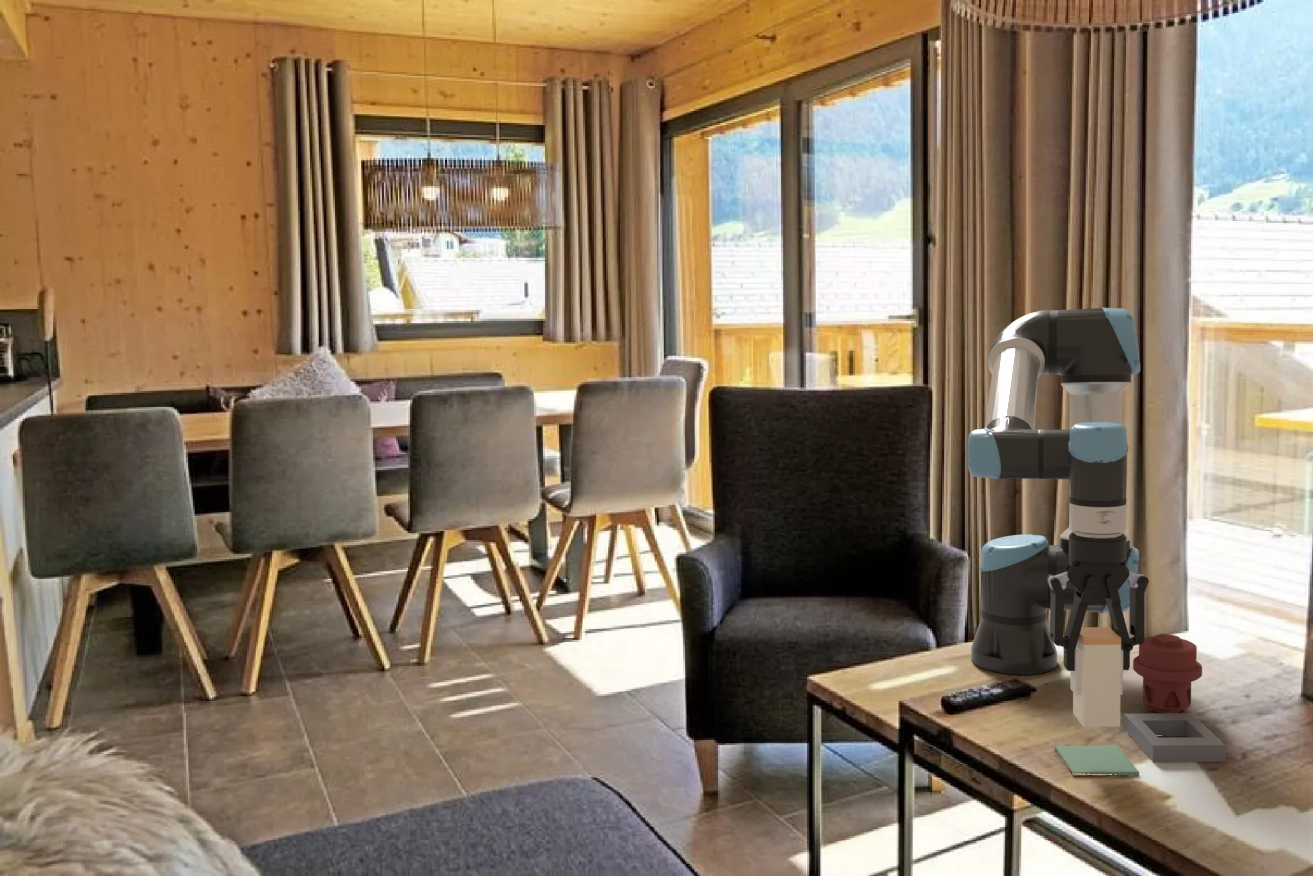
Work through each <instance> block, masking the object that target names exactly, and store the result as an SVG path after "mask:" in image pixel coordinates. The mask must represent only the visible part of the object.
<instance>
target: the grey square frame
mask: <svg viewBox="0 0 1313 876" xmlns="http://www.w3.org/2000/svg"><path fill="white" fill-rule="evenodd" d="M1124 729H1125V730H1126V731H1127V732H1128V733H1127V732H1126V731H1125V730H1124ZM1123 730H1124V731H1125V732H1126V733H1127V734H1128V736H1129V735H1130V736H1131V737H1132V738H1133V739H1134V740H1135V741H1136V742H1135V741H1134V740H1133V739H1132V738H1131V737H1130V736H1129V737H1130V738H1131V739H1132V740H1133V741H1134V742H1135V743H1137V744H1139V746H1140V747H1141V748H1140V747H1139V746H1138V747H1139V748H1140V749H1141V750H1142V749H1143V750H1142V751H1143V752H1145V753H1146V754H1147V755H1148V756H1147V755H1146V754H1145V753H1144V754H1145V755H1146V756H1147V757H1148V759H1150V758H1151V759H1150V760H1152V761H1153V762H1152V761H1151V762H1152V763H1205V762H1207V763H1210V762H1213V763H1214V762H1215V763H1220V762H1222V763H1223V762H1226V744H1225V743H1224V742H1223V741H1222V740H1221V739H1220V738H1218V736H1216V735H1215V733H1213V732H1212V731H1211V730H1210V729H1209V728H1208V727H1207V726H1206V725H1204V723H1202V722H1201V721H1200V720H1199V719H1198V718H1197V717H1196V716H1195V714H1192V713H1191V712H1187V713H1185V712H1181V713H1180V712H1177V713H1158V712H1155V713H1123ZM1156 735H1166V736H1165V737H1159V736H1156ZM1167 735H1168V736H1167ZM1169 735H1170V736H1169ZM1137 744H1136V745H1137Z"/></svg>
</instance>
